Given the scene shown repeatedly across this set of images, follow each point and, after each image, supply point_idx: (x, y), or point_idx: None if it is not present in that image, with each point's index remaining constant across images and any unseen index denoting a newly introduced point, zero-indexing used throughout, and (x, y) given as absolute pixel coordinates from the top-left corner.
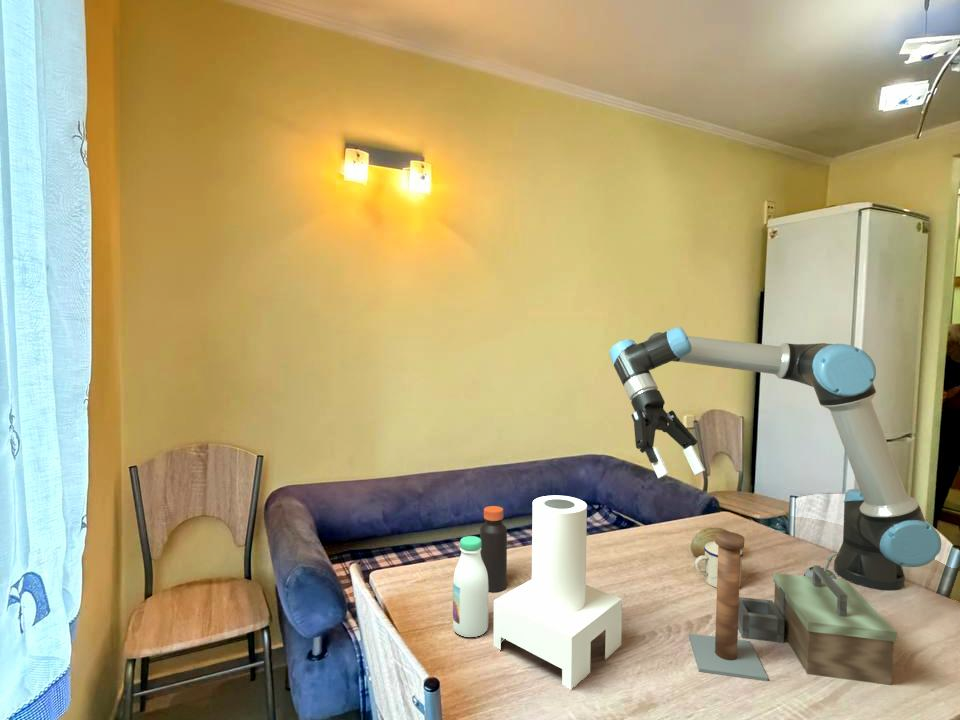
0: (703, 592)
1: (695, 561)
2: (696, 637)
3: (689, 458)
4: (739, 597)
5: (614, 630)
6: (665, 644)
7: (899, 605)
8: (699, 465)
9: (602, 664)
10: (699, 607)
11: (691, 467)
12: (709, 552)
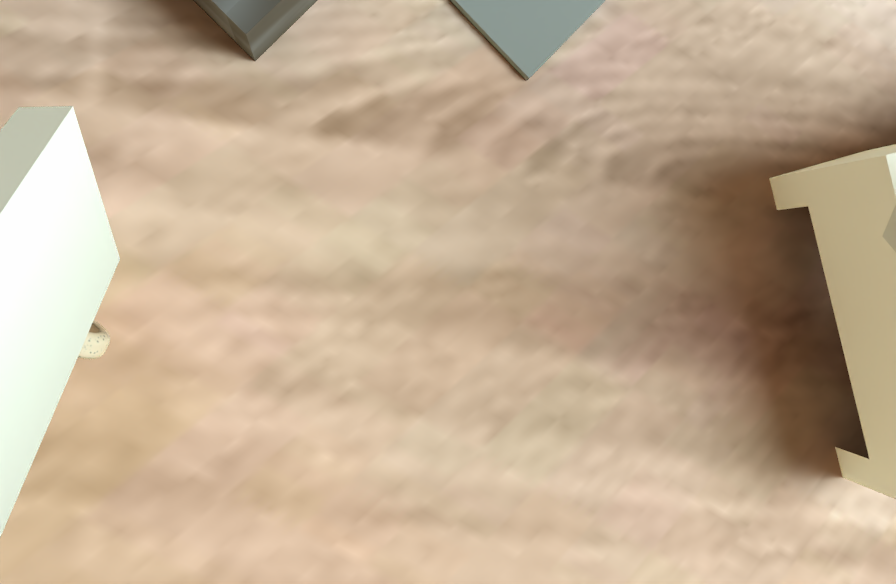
0: (169, 265)
1: (98, 353)
2: (526, 46)
3: (16, 408)
4: (231, 13)
5: (862, 155)
6: (639, 95)
7: None
8: (48, 176)
9: (889, 137)
10: (305, 190)
11: (81, 331)
12: None
